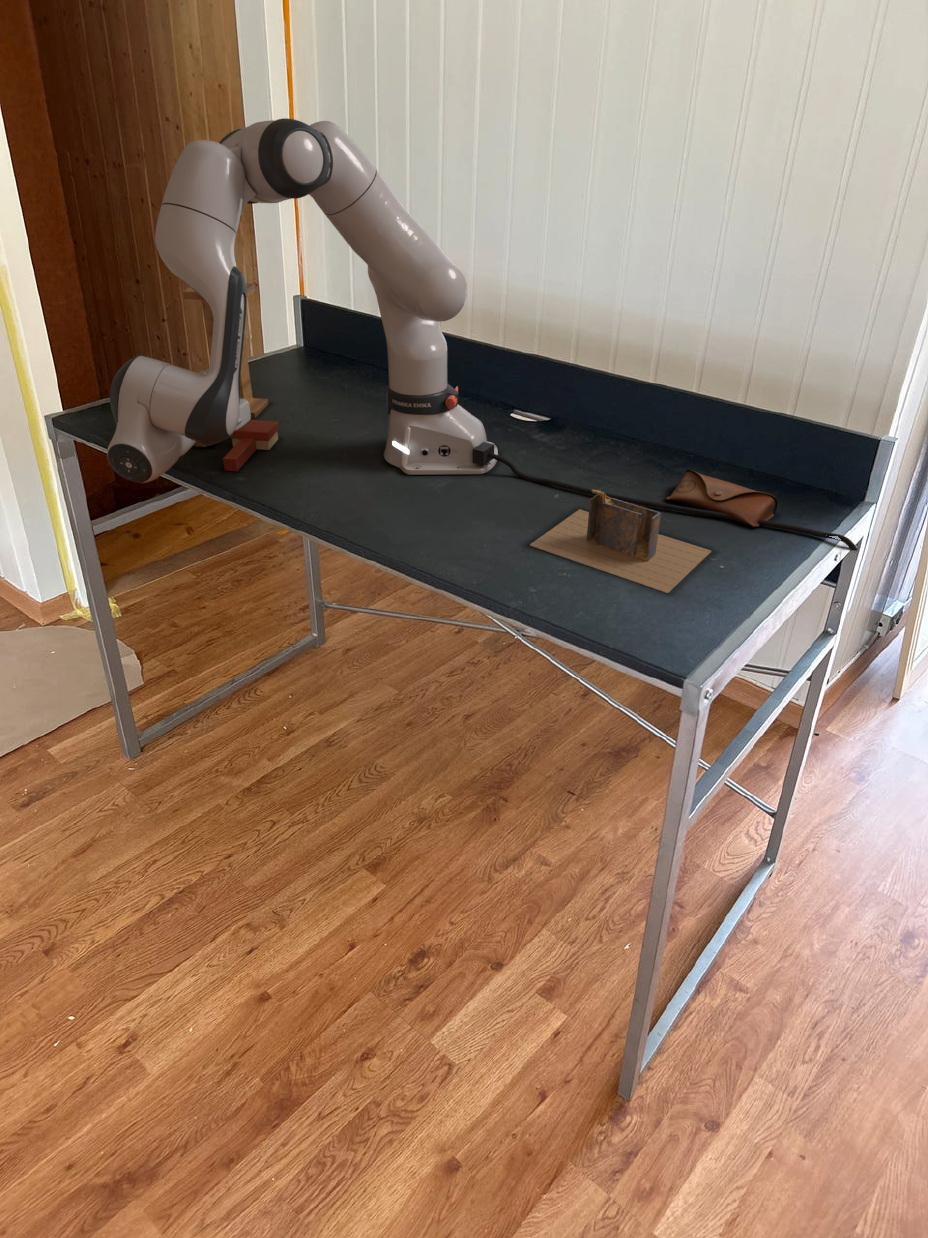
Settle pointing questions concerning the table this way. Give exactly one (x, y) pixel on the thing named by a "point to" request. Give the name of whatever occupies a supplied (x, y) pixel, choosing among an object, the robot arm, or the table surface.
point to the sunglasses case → (724, 498)
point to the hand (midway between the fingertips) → (206, 395)
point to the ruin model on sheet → (623, 543)
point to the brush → (250, 442)
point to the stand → (245, 383)
